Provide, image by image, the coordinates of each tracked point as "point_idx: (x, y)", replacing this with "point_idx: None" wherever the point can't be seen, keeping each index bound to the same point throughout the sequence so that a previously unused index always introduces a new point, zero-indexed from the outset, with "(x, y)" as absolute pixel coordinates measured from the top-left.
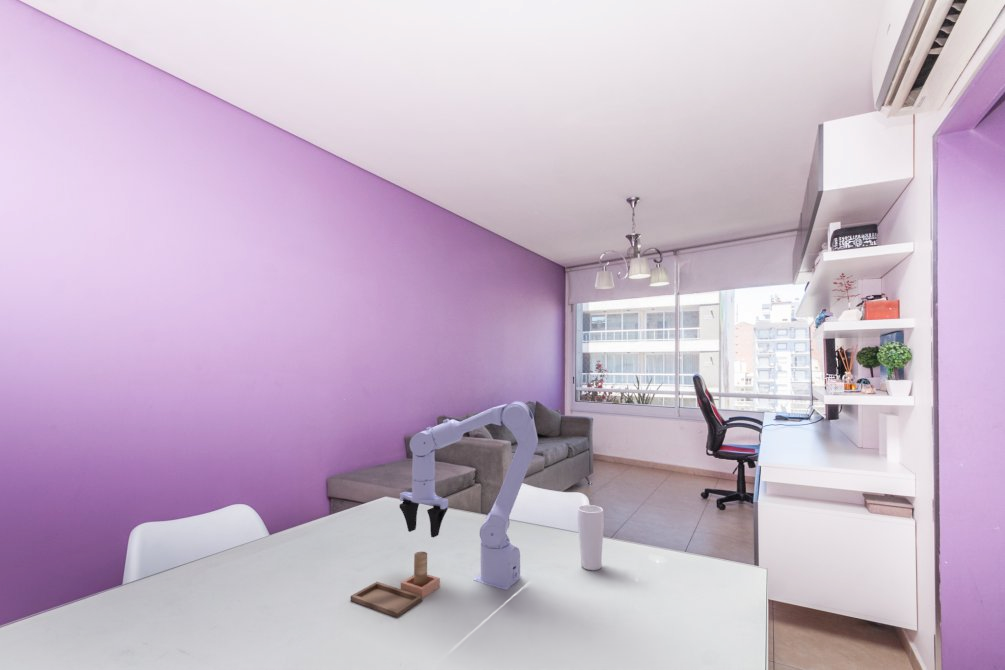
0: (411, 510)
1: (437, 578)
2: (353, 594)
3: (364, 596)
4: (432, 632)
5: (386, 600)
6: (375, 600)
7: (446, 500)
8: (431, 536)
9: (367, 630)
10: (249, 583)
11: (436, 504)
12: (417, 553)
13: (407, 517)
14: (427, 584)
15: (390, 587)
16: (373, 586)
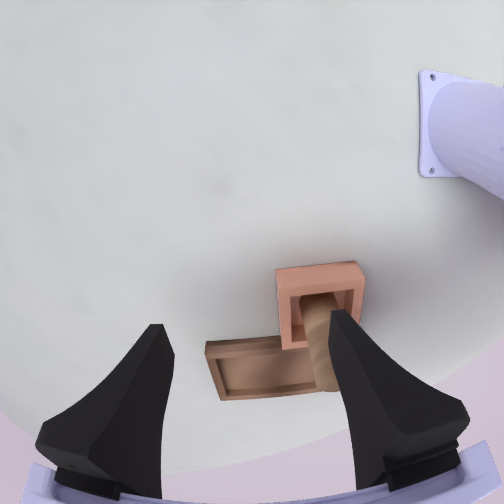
0: (143, 446)
1: (360, 283)
2: (219, 397)
3: (230, 379)
4: (419, 358)
5: (285, 367)
6: (264, 377)
7: (491, 491)
8: (329, 345)
9: (321, 405)
10: (50, 401)
11: (402, 497)
12: (325, 382)
13: (159, 430)
14: (354, 319)
15: (259, 353)
16: (217, 364)
